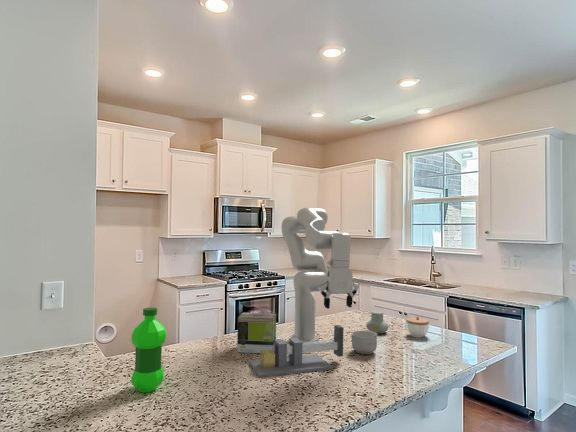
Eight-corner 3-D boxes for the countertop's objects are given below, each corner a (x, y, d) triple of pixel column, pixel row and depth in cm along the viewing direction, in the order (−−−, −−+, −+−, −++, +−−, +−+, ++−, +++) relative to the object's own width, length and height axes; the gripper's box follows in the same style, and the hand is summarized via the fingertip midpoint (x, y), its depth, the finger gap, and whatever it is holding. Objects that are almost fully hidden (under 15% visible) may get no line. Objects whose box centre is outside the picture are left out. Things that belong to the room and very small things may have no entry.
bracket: (249, 363, 144) (249, 338, 144) (316, 356, 153) (317, 333, 154) (258, 377, 131) (259, 349, 131) (332, 369, 140) (332, 343, 141)
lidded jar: (406, 337, 184) (406, 318, 185) (405, 331, 195) (406, 313, 195) (429, 339, 181) (429, 320, 182) (428, 334, 192) (428, 315, 192)
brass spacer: (270, 363, 142) (260, 364, 141) (270, 349, 142) (260, 350, 141) (274, 367, 138) (263, 368, 136) (274, 353, 138) (264, 354, 136)
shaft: (281, 358, 143) (281, 329, 143) (338, 352, 151) (338, 325, 152) (284, 362, 139) (285, 331, 140) (343, 356, 147) (343, 327, 148)
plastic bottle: (152, 379, 127) (155, 304, 128) (171, 388, 120) (173, 309, 121) (123, 389, 119) (126, 308, 120) (141, 399, 112) (144, 314, 113)
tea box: (275, 347, 165) (276, 312, 165) (272, 354, 155) (273, 318, 155) (241, 345, 166) (242, 311, 167) (236, 352, 156) (237, 316, 157)
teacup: (370, 358, 153) (370, 338, 154) (346, 352, 160) (346, 333, 160) (383, 350, 164) (384, 331, 165) (361, 344, 171) (361, 326, 171)
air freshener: (390, 332, 194) (390, 312, 194) (385, 335, 187) (385, 315, 187) (369, 328, 199) (369, 309, 200) (363, 332, 192) (364, 312, 193)
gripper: (324, 265, 144) (322, 310, 144) (364, 265, 150) (362, 308, 150) (315, 262, 151) (314, 305, 151) (354, 262, 157) (352, 304, 157)
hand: (338, 307), depth 150 cm, fingers open, 9 cm apart
